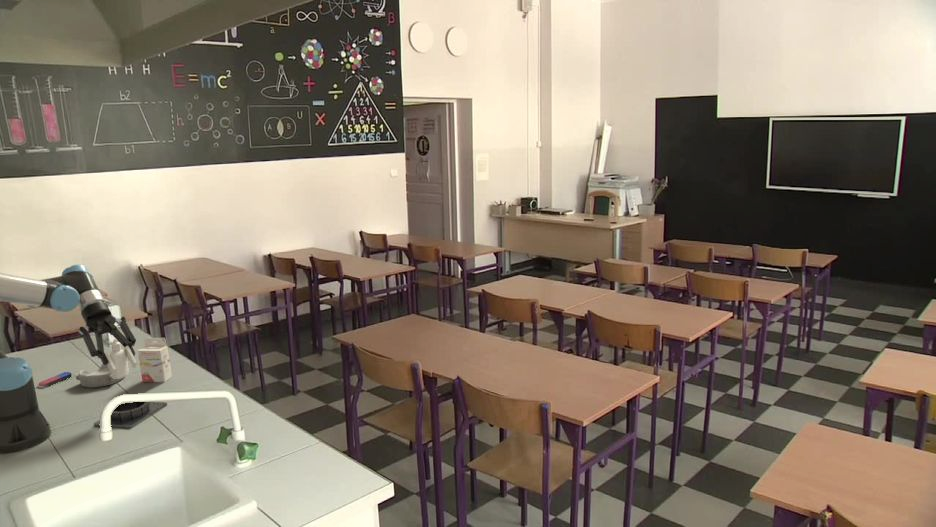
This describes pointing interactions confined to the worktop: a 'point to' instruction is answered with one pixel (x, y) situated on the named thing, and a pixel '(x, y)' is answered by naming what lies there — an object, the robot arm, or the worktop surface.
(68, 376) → the eraser
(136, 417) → the black ribbed ring plate
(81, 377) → the dish
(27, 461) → the worktop surface
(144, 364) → the ink cartridge box
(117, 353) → the eye dropper bottle
